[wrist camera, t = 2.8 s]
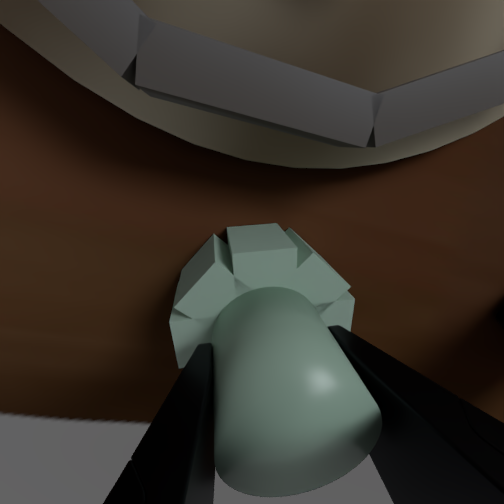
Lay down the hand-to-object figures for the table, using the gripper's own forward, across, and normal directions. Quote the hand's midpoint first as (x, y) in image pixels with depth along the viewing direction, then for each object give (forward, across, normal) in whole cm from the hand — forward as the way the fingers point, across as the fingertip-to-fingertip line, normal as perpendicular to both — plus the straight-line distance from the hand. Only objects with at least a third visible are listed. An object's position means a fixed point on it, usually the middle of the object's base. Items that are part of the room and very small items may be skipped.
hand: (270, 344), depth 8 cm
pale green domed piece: (+3, 0, 0) cm, 3 cm away
